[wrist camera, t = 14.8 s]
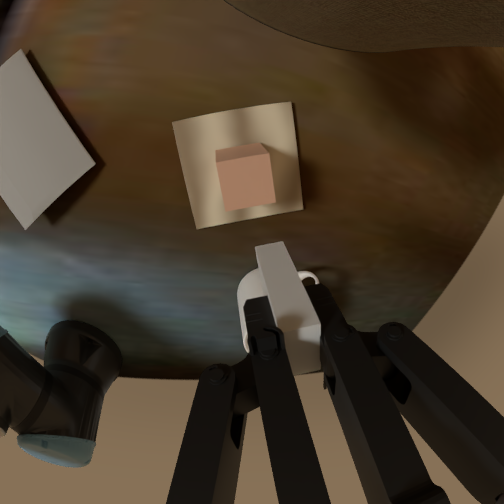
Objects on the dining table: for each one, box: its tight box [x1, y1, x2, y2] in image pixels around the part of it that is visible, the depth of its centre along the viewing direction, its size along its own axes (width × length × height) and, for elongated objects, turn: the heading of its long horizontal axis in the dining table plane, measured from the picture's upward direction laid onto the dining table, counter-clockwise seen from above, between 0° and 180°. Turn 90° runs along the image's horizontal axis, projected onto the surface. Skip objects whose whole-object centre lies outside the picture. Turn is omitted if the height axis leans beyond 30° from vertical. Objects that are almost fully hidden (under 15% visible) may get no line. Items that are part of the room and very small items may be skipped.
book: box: [0, 49, 96, 230], centre depth 29 cm, size 15×23×4 cm, turn 30°
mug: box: [237, 268, 319, 353], centre depth 41 cm, size 9×12×11 cm
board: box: [172, 102, 303, 229], centre depth 37 cm, size 14×14×1 cm
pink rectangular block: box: [215, 143, 276, 212], centre depth 33 cm, size 5×5×7 cm
